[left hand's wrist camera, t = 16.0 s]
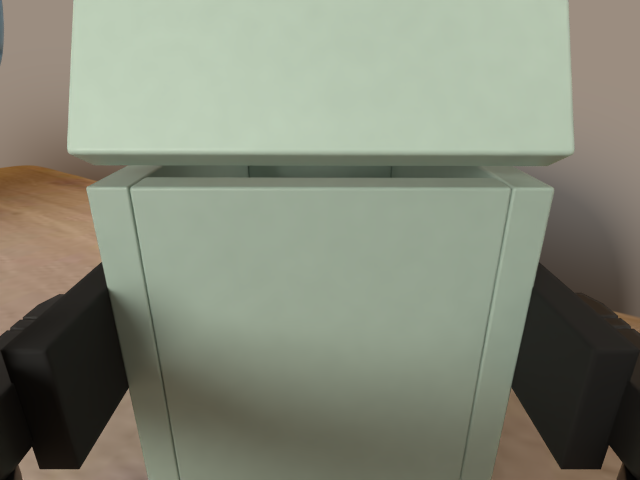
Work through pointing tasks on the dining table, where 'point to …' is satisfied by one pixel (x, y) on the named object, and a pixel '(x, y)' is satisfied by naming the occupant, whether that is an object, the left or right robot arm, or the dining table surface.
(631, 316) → the dining table surface
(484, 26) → the lid
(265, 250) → the chest
